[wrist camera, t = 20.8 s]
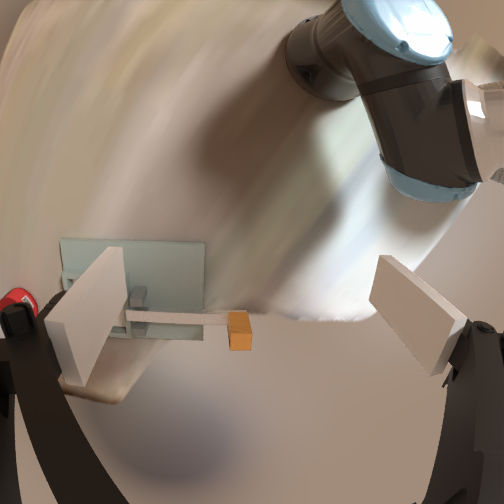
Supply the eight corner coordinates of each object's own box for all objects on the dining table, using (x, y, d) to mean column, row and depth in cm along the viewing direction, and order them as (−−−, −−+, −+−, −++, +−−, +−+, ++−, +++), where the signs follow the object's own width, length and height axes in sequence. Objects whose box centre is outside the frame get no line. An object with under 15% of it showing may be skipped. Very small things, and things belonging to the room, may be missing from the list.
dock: (62, 238, 44) (48, 249, 39) (204, 242, 48) (204, 255, 42) (77, 327, 50) (67, 344, 45) (203, 336, 54) (202, 355, 48)
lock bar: (127, 303, 46) (115, 328, 39) (246, 307, 48) (252, 333, 42) (129, 318, 47) (118, 344, 40) (244, 323, 49) (250, 350, 43)
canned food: (9, 280, 45) (-20, 307, 34) (39, 294, 47) (12, 324, 36) (10, 311, 47) (-15, 340, 37) (39, 325, 49) (16, 356, 38)
